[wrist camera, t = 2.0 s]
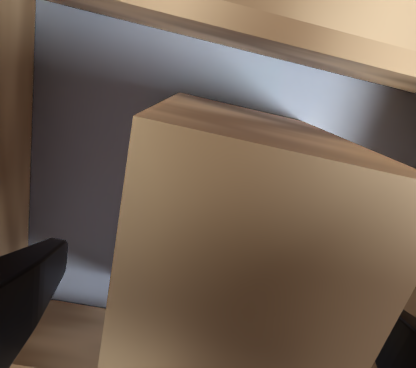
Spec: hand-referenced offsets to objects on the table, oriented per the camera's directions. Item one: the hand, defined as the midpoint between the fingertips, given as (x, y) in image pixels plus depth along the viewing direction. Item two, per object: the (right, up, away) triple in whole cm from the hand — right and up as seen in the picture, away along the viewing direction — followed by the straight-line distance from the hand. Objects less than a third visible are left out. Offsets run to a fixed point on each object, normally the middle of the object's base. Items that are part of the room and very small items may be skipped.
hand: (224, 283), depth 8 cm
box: (0, +2, +5) cm, 5 cm away
